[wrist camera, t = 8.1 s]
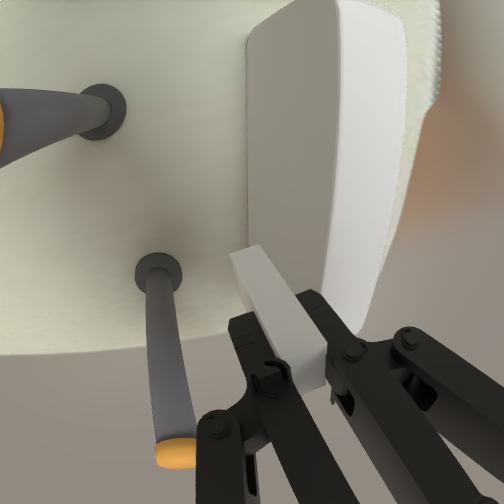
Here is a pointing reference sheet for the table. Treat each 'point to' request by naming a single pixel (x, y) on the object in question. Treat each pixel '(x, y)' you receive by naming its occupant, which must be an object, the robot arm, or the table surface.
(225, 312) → the table surface
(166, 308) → the cable post
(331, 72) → the rounded white slab
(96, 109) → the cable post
